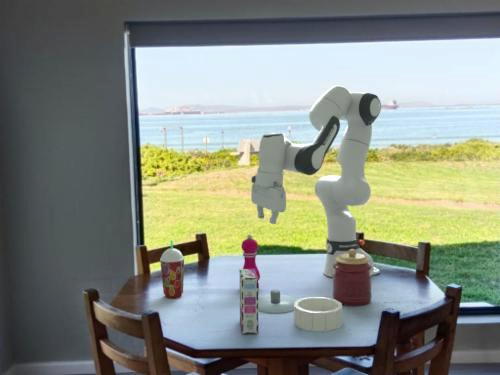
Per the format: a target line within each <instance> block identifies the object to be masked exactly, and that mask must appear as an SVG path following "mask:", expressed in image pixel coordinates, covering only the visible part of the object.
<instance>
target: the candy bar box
mask: <svg viewBox="0 0 500 375" xmlns="http://www.w3.org/2000/svg"><path fill="white" fill-rule="evenodd" d="M238 272H239V323H240V329H241V334H242V335H256V334H257V335H259V311H258V297H259V288H258V283H259V281H258V277H257V274H256V272H255V269H243V268H240V269H239V271H238Z"/></svg>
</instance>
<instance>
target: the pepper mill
mask: <svg viewBox="0 0 500 375" xmlns="http://www.w3.org/2000/svg"><path fill="white" fill-rule="evenodd" d="M252 236H253V235H251V234H248V235H247V236H246V239H244V240H243V241H242V243H241V249H242V251H243V252H242V254H243V255H242V257H243V258H244V263H243V267H242V269H255V272H256V274H257V277H258V289H260V283H259V281H260V279H261V273H260V270H259V268H258V266H257V262H256V258H257V253H258V252H257V250H258V248H259V243H258V241H257V240H256V239H254V238H253V237H252Z"/></svg>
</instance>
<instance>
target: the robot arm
mask: <svg viewBox="0 0 500 375" xmlns="http://www.w3.org/2000/svg"><path fill="white" fill-rule="evenodd" d="M381 110H382V103H381V100H380V98H379V96H378V95H377V94H375V93H372V92H359V91H352V92H350V90H348V89H347V87H345V86H342V85H334V86H332V87H331V88H329V89H327V91H325V92H324V93H323V94H322V95H321V96H320V97H318V99H317V100H316V101H315V103H314V104H313V105H312V107H311V108H310V110H309V111H308V112H309V114H308V116H309V117H308V118H309V121H310V124H311V125H312V126H313V128H314V129H315V130H316V131H318V133H317V135H316V137H315V139H314V140H313V142H311V143H306V144H300V143H293V142H292V141H290V140H289V139H287V137H285V136H286V135H285V133H282V132H279V131H278V132H277V131H275V132H274V131H273V132H267V133H264V134H263V135H262V136H261V139H260V141H259V142H260V143H259V147H258V167H257V172H256V174H254V175H253V176H251V179H250V180H251V181H250V182H251V183H252V184H251V193H250V194H251V195H250V196H251V197H250V198H251V202H252V204H254V205H256V209H257V218H258V219H260V220H263V219H264V218H265V213H264V209H267V210H270V212H271V217H269V223H270V224H271V225H276V224H277V219H278V217H279V215H280V213H285V211H286V209H287V193H286V190H285V188H284V186H283V185H284V183H283V182H284V171H287V172H293V173H299V174H302V175H307V176H313V175H315V174H316V173H317V172H319V170H320V169H321V168H322V166H323V164H324V161H325V158H326V155H327V153H328V152H329V150H330V148H331V147H332V144H333V143H334V141H335V139H336V137H337V135H338V134H339V131H340V128H341V122H340V121H346V122H347V126H346V128H345V130H344V132H343V136H342V138H341V142H340V145H339V149H338V151H337V155H336V159H337V160H336V161H337V163H338V164H339V165H340V168H341V172H340V173H341V174H340V175H332V174H331V175H325V176H321V177H320V178H318V180H316V183H315V185H314V193H315V195H316V197H317V198H318V200H319V201H320V202H321V204H322V206H323V209H324V212H325V213H324V214H325V215H326V224H327V226H326V228H327V238H326V242H325V243H326V246H325V247H326V248H325V249H326V260H325V265H324V269H323V274H324V275H325V276H327V277H330V278H333V274H334V268H333V264H334V263H336V260H335V258H336V257H338V256H339V255H341V254H344V253H348V251H349V250H350V249H354V250H355V251H356V253H358V254H362V255H364V256H365V257H367V258H368V259H369V262H368V263H369V264H370V265H371V266H372V269H371V270H370V275H371V276H374V275H375V276H376V275H377V274H380V269H379V268H377V267H375V265H374V260H373V257H372V256H371V255H370V254H369V253H367V252H366V251H365V250H363V249H362V248H360V246H364V244H365V240H364V239H358V238H357V236H356V235H357V230H356V229H357V222H356V221H357V220H356V219H355V217H354V215H353V214H352V213H351V212H350V210H349V207H357V206H363V205H366V204H367V203H368V201H369V200H370V198H371V193H372V192H371V186H370V184H369V183H368V181H367V179H366V176H365V166H366V165H365V164H366V160H367V156H368V153H369V149H370V145H371V141H372V136H373V124H374V123H375V121H376V120H377V119H378V116H379V115H380V114H381Z"/></svg>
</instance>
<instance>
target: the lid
mask: <svg viewBox="0 0 500 375" xmlns="http://www.w3.org/2000/svg"><path fill="white" fill-rule="evenodd" d="M297 300H299V299H298V298H296V297H294V296H292V295H286V294H281V291H280V290H278V289H273V290H270V294H264V295H261V296H259V295H258V312H261V313H269V314H282V313H289V312H292V311H293V312H294V302H295V301H297Z"/></svg>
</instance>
